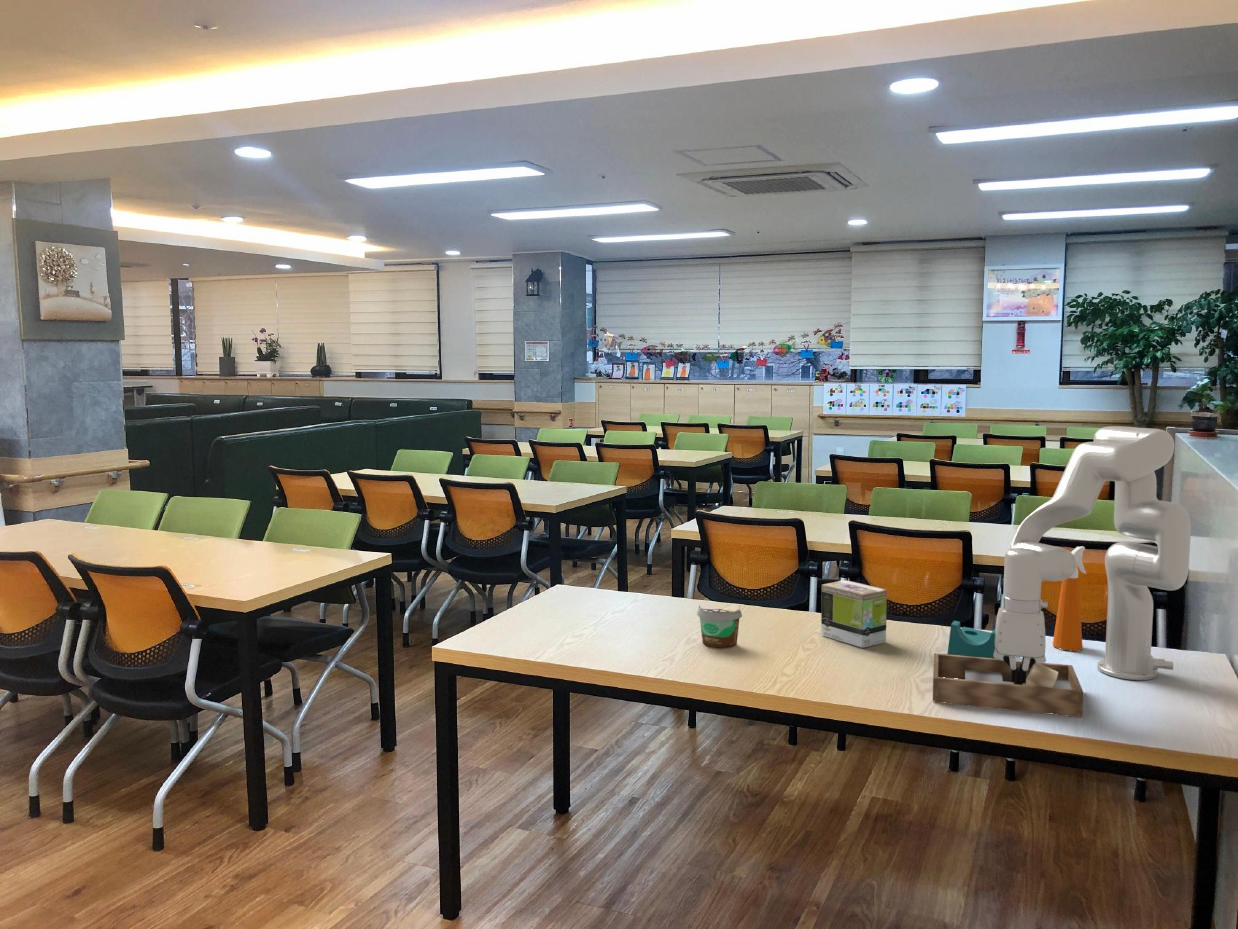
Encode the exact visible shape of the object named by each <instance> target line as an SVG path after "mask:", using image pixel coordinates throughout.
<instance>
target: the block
mask: <svg viewBox="0 0 1238 929" xmlns="http://www.w3.org/2000/svg"><path fill="white" fill-rule="evenodd" d="M1057 676H1058V672H1057V671H1055V670H1053V669H1050V668H1048V667H1046V666H1044V665H1042V664H1040V663H1035V664H1034V665H1033V667H1032V669H1031V671H1030V674H1029V676H1028V678H1027V680H1026V683H1025V685H1027V686H1038V687H1048V688H1053V686H1054V684H1055V682H1056V679H1057Z"/></svg>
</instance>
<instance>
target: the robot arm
mask: <svg viewBox="0 0 1238 929" xmlns="http://www.w3.org/2000/svg"><path fill="white" fill-rule="evenodd" d="M1174 452H1175V441H1174V438H1173V437H1172V435H1171V434H1170V433H1169V432H1167V431H1165V429H1159V428H1149V427H1135V426H1133V427H1132V426H1123V425H1122V426H1120V425H1116V426H1115V425H1113V426H1112V425H1111V426H1104V427H1101V428H1099V429H1098V430H1096V432H1094V435H1093V441H1087V442H1082V443H1080V444H1079V445H1077V446H1076V447H1075V448H1074V450H1073V451H1072V453H1071V455H1070V458H1069V460H1068V462H1067V465H1066V467H1065V468H1064V471H1063V474H1062V476H1061V478H1060V480H1059V482H1058V485H1057V487H1056V489H1055V491H1054V494H1053V496H1052V497H1051V498H1050V499H1049V500H1047V501H1045V503H1043V504H1042V505H1040V506H1038V508H1036V509H1035V510H1034V511H1032V512H1031V513H1030V514H1029V515H1028V516H1026V517H1025V519H1023V520H1022V521H1021V523H1020V524H1019V526H1018V528H1017V530H1016V533H1015V534H1014V537H1013V539H1012V541H1011V544H1010V546H1009V549H1008V550H1006V551H1005V554H1004V565H1003V566H1004V567H1003V568H1004V569H1003V570H1004V571H1003V573H1004V574H1003V592H1002V593H1003V595H1002V607H999V608H998V612H997V615H996V621H995V628H994V629H995V649H994V652H993V657H994V658H997V659H1000V660H1003V661H1005V662H1006V663H1007V664H1008V665H1009V666H1010V667H1011V682H1014V684H1017V685H1023V683H1024V684H1025V683H1026V671H1027V670H1028V668H1030V667H1031V666H1032V665H1034V664H1035V663H1047V659H1046V626H1045V615H1044V611H1042V609H1044V608H1046V609H1048V607H1049V604H1048V601H1044V600H1043V599H1041V598H1042V596H1041V595H1042V594H1041V593H1042V582H1062V581H1063V580H1066V579H1068V578H1069V577H1071V576H1072V575H1073V573H1074V572H1075V570H1076V565H1077V563H1076V559H1075V557H1074V555H1073V554H1072V553H1071V552H1072V551H1070V550H1068V549H1065V548H1063V547H1060V546H1054V545H1050V544H1046V543H1041V542H1040V541H1041V538H1042V537H1043V536H1044V535H1045V534H1046V533H1047V532H1048V531H1050V530H1051V529H1053V528H1055V527H1057V526H1059V525H1062V524H1065V523H1068V522H1071V521H1075V520H1079V519H1082V518H1085V517H1088V516H1090V515H1091V513H1092V512H1093V510H1094V507H1095V506H1096V504H1097V501H1098V499H1099V495H1100V493H1101V491H1102V489H1103V487H1104V485H1105V483H1106V482H1107V481H1108V482H1114V505H1113V506H1114V508H1113V509H1114V510H1113V523H1114V528H1115V530H1116V531H1117V533H1119V534H1120V535H1122V536H1125V537H1129V538H1135V539H1138V540H1139V539H1140V540H1144V541H1152V542H1156V544H1157V546H1156V545H1151V544H1145V543H1139V542H1134V541H1120V542H1116V543H1114V544H1111V546H1110V547H1109V548H1108V549H1107V550H1106V553H1105V556H1104V566H1105V573H1106V579H1107V592H1108V593H1107V610H1106V615H1107V616H1106V632H1105V633H1106V634H1105V651H1104V652H1105V654H1104V655H1105V656H1104V657H1105V658H1104V659H1102V660H1100V661H1098V662H1097V669H1098V671H1100V672H1101V673H1103V674H1105V675H1108V676H1111V677H1114V678H1118V679H1122V680H1123V679H1125V680H1132V681H1147V680H1153V679H1156V678H1157V677H1158V669H1164V670H1171V671H1173V670H1174V662H1173V661H1171V660H1165V658H1155V657H1153V655H1152V654H1151V653H1152V636H1153V619H1154V618H1153V617H1154V600H1153V596H1152V593H1151V592H1150V589H1149V588H1153V589H1154V588H1155V589H1158V590H1165V591H1176V590H1179V589H1180V588H1182V587H1183V586H1184V584H1185V583H1186V581H1187V578H1188V575H1189V569H1190V568H1189V566H1190V554H1191V552H1190V550H1191V534H1192V533H1191V530H1192V525H1191V524H1192V522H1191V518H1190V514H1189V512H1188V511H1187V509H1186V508H1185V507H1184V506H1183V505H1182V504H1179V503H1177V502H1172V501H1165V500H1159V499H1158V497H1157V476H1156V473H1155V471H1157V470H1159V469H1161V468H1162V467H1164V466H1165V465H1167V463H1168V462H1170V460H1171V458H1172V457H1173V454H1174ZM1016 657H1018V658H1022V659H1021V661H1022V663H1021V665H1020V667H1019V670H1018V666H1017V664H1016V660H1017V659H1016Z"/></svg>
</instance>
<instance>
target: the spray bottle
mask: <svg viewBox="0 0 1238 929" xmlns="http://www.w3.org/2000/svg"><path fill="white" fill-rule="evenodd" d="M1085 550H1086V548H1085V546H1083V545H1082V546H1076V547H1075V548H1074V549H1073V550H1072V551H1070V552H1071V553H1072V554H1073V555H1074V557H1075V559H1076V563H1077V565H1076V570H1075V572H1074V573H1073V575H1072V576H1071V577H1069V578H1068V579H1066V580H1063V581H1061V587H1060V592H1059V601H1058V606H1057V613H1056V619H1055V620H1056V621H1055V627H1054V634H1053V638H1052V639H1053V640H1052V646H1053V647H1054V648H1055V647H1057V648H1061V649H1063V650H1062V651H1064V650H1071V651H1070V652H1078V650H1080V651H1082V650H1083V649H1084V648H1083V633H1082V632H1083V631H1082V618H1081V616H1082V615H1081V598H1080V586H1079V585H1080V584H1079V570H1080V572H1081V573H1083V574H1085V575H1087V572H1086V568H1085V565H1084V564H1083V563H1084V562H1083V555H1084V554H1083V553H1084V552H1085ZM1057 648H1056V649H1057Z"/></svg>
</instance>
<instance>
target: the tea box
mask: <svg viewBox="0 0 1238 929" xmlns="http://www.w3.org/2000/svg"><path fill="white" fill-rule="evenodd" d="M887 591H888V589H886V588H882V587H877V586H873V585H868V584H865V583H860V582H857V581H851V580H847V579H844V580H838V581H834V582H828V583H823V584H821V602H820V603H821V605H820V606H821V608H820V609H821V612H820V614H821V616H820V617H821V618H820V623H821V624H820V627H821V629H820V633H821V636H822V635H823V637H826V638H829V639H833V640H835V641H838V642H842V643H845V644H849V645H852V646H856V647H858V648H861V649H864V648H868V647H874V646H877V645H880V644H881V645H882V644H883V643H886V641H887V639H886V638H887V608H888V607H887V606H888V605H887V600H888V599H887V598H888V596H887V595H888V592H887Z"/></svg>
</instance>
